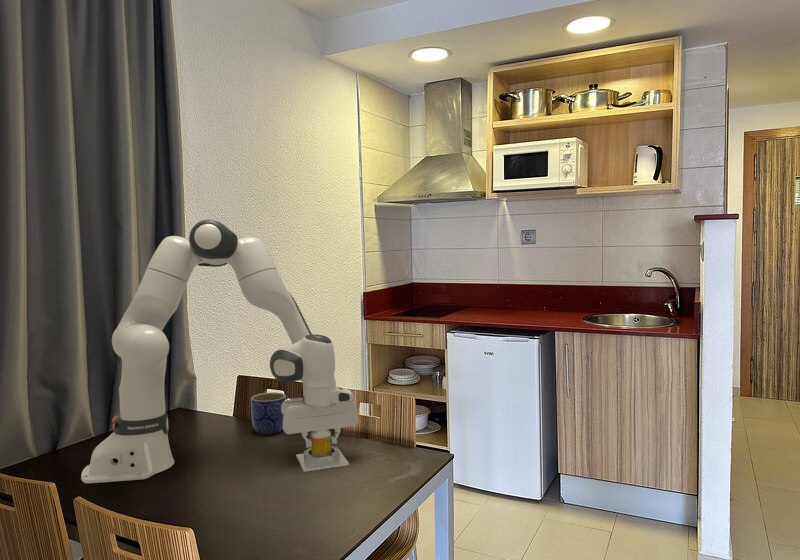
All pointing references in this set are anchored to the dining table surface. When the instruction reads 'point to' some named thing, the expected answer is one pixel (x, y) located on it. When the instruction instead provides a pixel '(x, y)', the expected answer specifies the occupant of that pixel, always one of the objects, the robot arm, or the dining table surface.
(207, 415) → the dining table surface
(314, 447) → the supplement bottle
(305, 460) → the glass ashtray
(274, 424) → the planter
